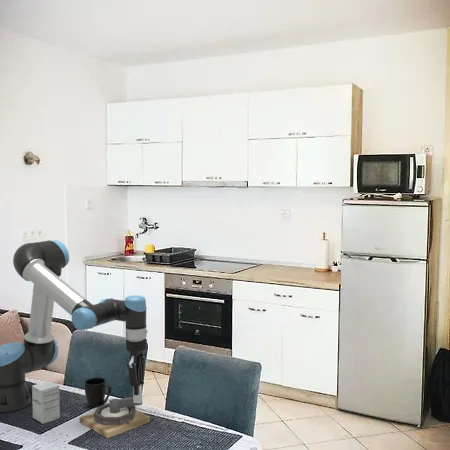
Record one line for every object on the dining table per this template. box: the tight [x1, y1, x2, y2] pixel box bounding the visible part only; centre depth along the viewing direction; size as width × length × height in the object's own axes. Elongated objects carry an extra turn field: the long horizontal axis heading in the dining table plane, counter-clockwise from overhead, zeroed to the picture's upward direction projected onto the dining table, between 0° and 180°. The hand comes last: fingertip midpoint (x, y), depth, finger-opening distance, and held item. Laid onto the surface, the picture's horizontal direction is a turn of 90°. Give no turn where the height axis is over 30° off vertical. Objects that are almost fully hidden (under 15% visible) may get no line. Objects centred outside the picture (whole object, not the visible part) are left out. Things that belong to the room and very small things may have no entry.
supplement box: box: [31, 380, 61, 425], centre depth 201 cm, size 7×7×13 cm
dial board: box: [79, 402, 151, 439], centre depth 198 cm, size 18×18×4 cm
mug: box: [84, 377, 113, 408], centre depth 212 cm, size 8×12×10 cm
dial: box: [101, 396, 143, 417], centre depth 199 cm, size 15×10×6 cm, turn 112°
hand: (137, 402), depth 198 cm, fingers closed
